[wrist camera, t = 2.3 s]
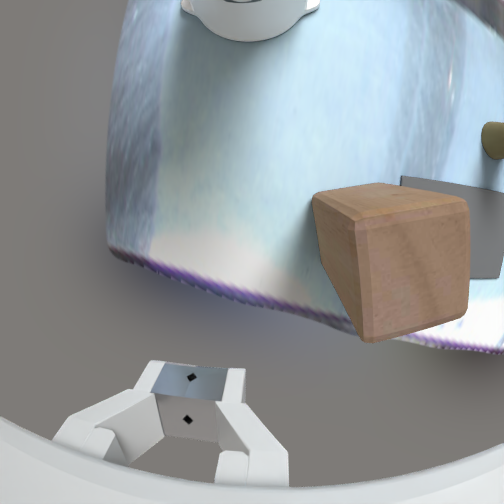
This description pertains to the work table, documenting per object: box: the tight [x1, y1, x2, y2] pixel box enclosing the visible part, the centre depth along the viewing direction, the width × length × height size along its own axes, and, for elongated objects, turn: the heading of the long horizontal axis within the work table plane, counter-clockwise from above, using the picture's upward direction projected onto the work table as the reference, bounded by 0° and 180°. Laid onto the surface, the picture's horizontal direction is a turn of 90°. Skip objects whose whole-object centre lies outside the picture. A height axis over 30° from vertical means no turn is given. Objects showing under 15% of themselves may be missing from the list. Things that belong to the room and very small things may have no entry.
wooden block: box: [312, 183, 470, 343], centre depth 29 cm, size 10×10×20 cm
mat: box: [401, 176, 504, 278], centre depth 37 cm, size 14×22×1 cm, turn 89°
